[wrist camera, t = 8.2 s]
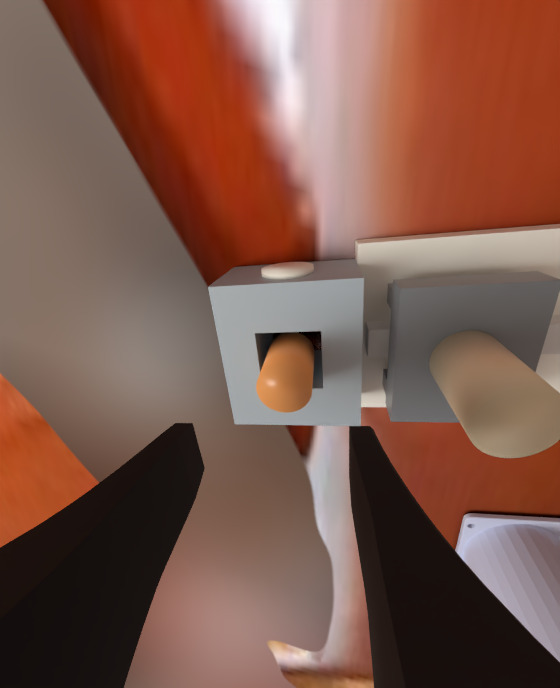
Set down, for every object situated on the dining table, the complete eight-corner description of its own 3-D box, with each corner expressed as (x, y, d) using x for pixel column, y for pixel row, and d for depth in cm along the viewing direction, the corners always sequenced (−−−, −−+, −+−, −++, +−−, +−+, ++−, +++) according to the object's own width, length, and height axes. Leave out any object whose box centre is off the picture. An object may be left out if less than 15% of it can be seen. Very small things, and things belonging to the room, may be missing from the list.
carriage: (492, 390, 17) (587, 502, 11) (381, 390, 18) (411, 493, 12) (521, 265, 14) (675, 320, 8) (388, 273, 15) (432, 328, 9)
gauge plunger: (315, 372, 17) (313, 412, 13) (271, 372, 17) (259, 412, 14) (313, 330, 16) (310, 365, 12) (267, 332, 16) (252, 365, 13)
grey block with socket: (353, 380, 20) (360, 426, 16) (251, 381, 22) (234, 423, 18) (355, 253, 17) (364, 270, 13) (233, 261, 18) (206, 280, 14)
